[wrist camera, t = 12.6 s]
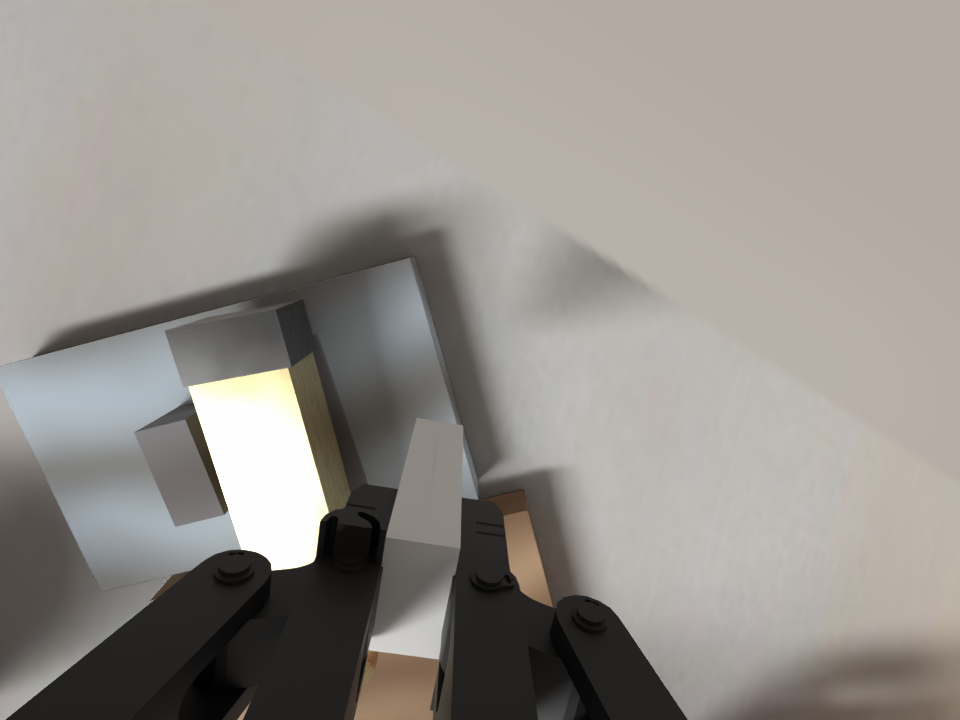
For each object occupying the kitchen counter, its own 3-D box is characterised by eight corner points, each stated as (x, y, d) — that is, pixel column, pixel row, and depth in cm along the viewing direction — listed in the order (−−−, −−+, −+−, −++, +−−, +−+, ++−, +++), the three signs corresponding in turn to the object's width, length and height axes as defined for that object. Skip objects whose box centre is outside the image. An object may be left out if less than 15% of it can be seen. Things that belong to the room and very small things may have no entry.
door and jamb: (31, 357, 24) (-83, 389, 19) (459, 244, 23) (455, 246, 18) (222, 766, 29) (172, 871, 24) (575, 687, 28) (596, 781, 23)
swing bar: (400, 628, 24) (388, 691, 21) (306, 644, 24) (280, 709, 21) (313, 296, 21) (282, 308, 17) (204, 317, 21) (152, 333, 17)
